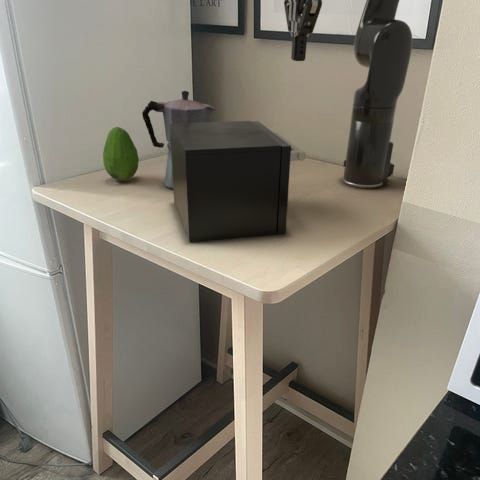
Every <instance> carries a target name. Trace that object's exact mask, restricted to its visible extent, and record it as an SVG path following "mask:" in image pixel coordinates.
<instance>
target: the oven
mask: <svg viewBox="0 0 480 480" xmlns="http://www.w3.org/2000/svg"><path fill="white" fill-rule="evenodd" d="M252 122H253V121H251V120H237V121H236V120H234V121H210V122H209V121H208V122H205V123H177V124H170V140H171V157H172V174H173V189H172V190H173V204H174V207H175V209H176V212H177V215H178V217H179V220H180V223H181V226H182V228H183V230H184V232H185V235H186V238H187V241H188V243H189V244H193V243H204V242H213V241H214V242H215V241H225V240H226V241H227V240H236V239H247V238H248V239H249V238H259V237H271V236H277V233H276V227H277V210H278V193H279V175H280V158H281V145H280V144H278V143H277V142H276V141H275V140H273V139H272V138H271V137H270V136H268V135H267V134H266V133H265V132H263V131H262V130H261V129H260V128H258V127H257V126H256V125H255V124H253V123H252Z"/></svg>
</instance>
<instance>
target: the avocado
mask: <svg viewBox="0 0 480 480" xmlns="http://www.w3.org/2000/svg"><path fill="white" fill-rule="evenodd" d="M139 161H140V159H139V152H138V149H137V148H136V145H135V144H134V141H133V140H132V137H131V136H130V134H129V133H128V131H126V129H124V128H122V127H119V126H115V127H113V128H111V129H110V130H109V132H108V134H107V137H106V140H105V144H104V147H103V152H102V163H103V166H104V169H105V171H106V173H107V174H108V175H109V176H110V177H111V178H112V179H114V180H115V181H118V182H125V181H129V180H130V179H132V178H133V177H134V176H135V175H136V173H137V170H138V168H139Z"/></svg>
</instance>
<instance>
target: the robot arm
mask: <svg viewBox="0 0 480 480" xmlns="http://www.w3.org/2000/svg"><path fill="white" fill-rule="evenodd" d="M399 3H400V0H366V1H365V4H364V7H363V9H362V14H361V16H360V19H359V22H358V26H357V28H356V29H357V30H356V33H355V36H354V42H353V53H354V54H353V55H354V58H355V60H356V62H357V63H358V64H359V65H360V66H362V67H364V68H366V69H368V71H367V76H366V81H365V83H364V84H363V85H362V86H360V87H359V88H357V89H356V90H355V91H354V94H353V102H352V109H351V118H350V124H349V125H350V126H349V133H348V141H347V147H346V157H345V160H344V161H343V168H344V171H343V176H342V182H343V183H344V184H345V185H347V186H349V187H353V188H359V189H377V188H381V187H382V186H387V183H388V178H390V177H391V176H393V175H394V170H395V164H394V163H392V162H391V160H392V157H393V156H392V155H393V149H394V142H393V141H391V139H392V134H393V129H394V122H395V115H396V110H397V104H398V99H399V98H400V96H401V94H402V92H403V89H404V86H405V83H406V79H407V75H408V70H409V65H410V60H411V56H412V49H413V33H412V30H411V27H410V26H409V25H408V23H407V22H406V21H403V20H401V19H396V15H397V12H398V7H399ZM283 5H284V11H285V12H284V13H285V19H286V25H287V31H288V32H290V37H291V39H292V40H291V56H290V59H291V60H292V61H294V62H304V61H306V56H307V42H308V37H309V36H310V34H313V32H314V30H315V27H316V24H317V21H318V18H319V15H320V13H321V9H322V6H323V0H284V2H283Z"/></svg>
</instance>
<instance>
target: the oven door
mask: <svg viewBox="0 0 480 480" xmlns="http://www.w3.org/2000/svg"><path fill="white" fill-rule="evenodd" d="M251 122H252V123H253V124H255V125H256V126H257V127H258V128H260V129H261V130H262V131H263V132H265V133H266V134H267V135H268V136H270V137H271V138H272V139H273V140H275V141H276V142H277V143H278V144H280V145H281V158H280V175H279V193H278V210H277V227H276V236H278V235H279V236H280V235H286V234H287V218H288V203H289V202H288V201H289V187H290V171H291V162H298V161H301V162H302V161H305V160H306V158H307V153H306V152H304V151H303V150H302V149H300V148H299V147H298V146H296V145H295V144H294V143H292V142H291V141H290V140H288V139H287V138H286V137H285V136H283V135H282V134H280V133H279V132H278V131H277V132H273V131H272V130H270V129H269V128H268V127H267V126H266V125H264V124H263V123H261V122H260V121H258V120H255V121H251Z"/></svg>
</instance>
